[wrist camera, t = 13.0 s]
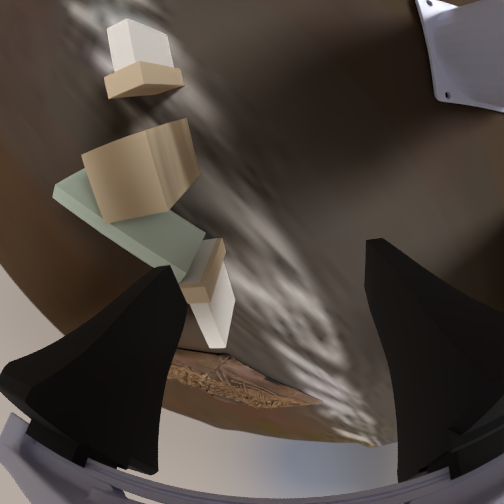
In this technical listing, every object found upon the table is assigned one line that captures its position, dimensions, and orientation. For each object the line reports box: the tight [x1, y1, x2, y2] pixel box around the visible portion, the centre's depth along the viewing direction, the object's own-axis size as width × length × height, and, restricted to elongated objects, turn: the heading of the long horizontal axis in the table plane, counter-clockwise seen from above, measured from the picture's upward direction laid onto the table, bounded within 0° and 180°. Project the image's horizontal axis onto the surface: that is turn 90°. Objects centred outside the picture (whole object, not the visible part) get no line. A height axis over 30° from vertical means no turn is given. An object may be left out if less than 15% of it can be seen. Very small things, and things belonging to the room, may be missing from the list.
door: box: [53, 168, 206, 284], centre depth 16 cm, size 2×10×5 cm, turn 55°
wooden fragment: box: [167, 349, 323, 409], centre depth 30 cm, size 26×11×1 cm, turn 62°
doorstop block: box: [81, 118, 200, 224], centre depth 14 cm, size 4×4×6 cm
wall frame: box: [104, 18, 235, 348], centre depth 15 cm, size 2×21×6 cm, turn 11°
